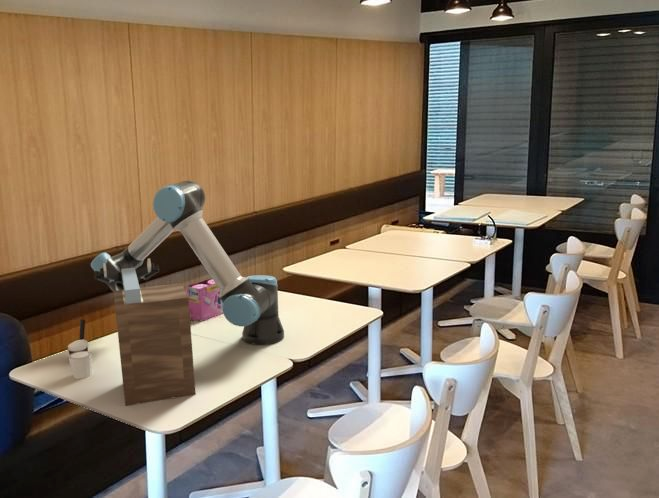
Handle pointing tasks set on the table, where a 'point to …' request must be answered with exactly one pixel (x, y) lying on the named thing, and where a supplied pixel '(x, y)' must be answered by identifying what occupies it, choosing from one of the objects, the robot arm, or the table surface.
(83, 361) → the shot glass
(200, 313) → the gum box
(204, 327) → the table surface
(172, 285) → the shelf
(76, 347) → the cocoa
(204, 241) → the robot arm
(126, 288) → the rod
